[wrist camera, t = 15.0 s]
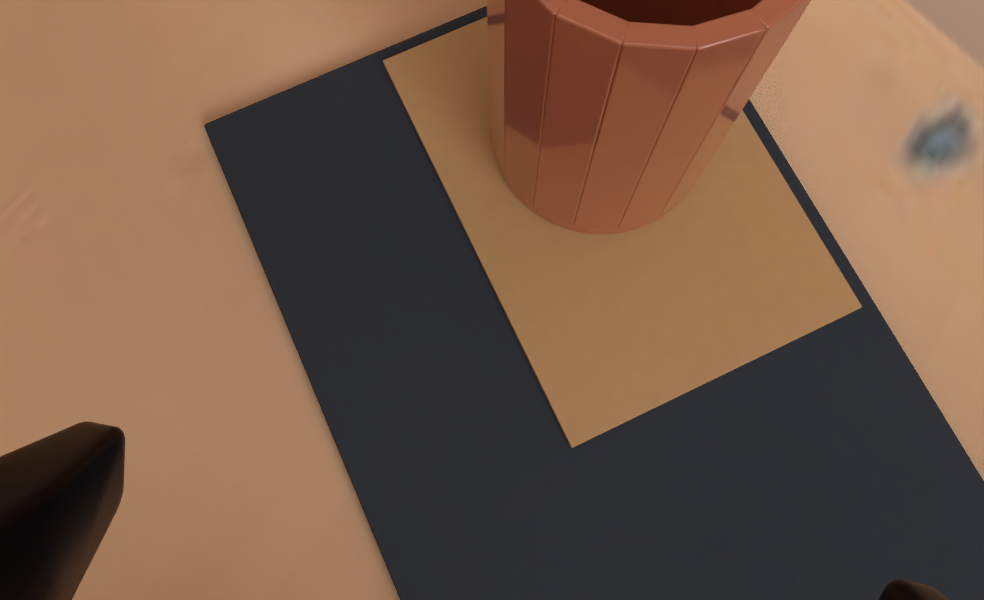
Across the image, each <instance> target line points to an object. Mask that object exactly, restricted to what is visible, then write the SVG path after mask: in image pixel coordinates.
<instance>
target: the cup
mask: <svg viewBox="0 0 984 600" xmlns="http://www.w3.org/2000/svg"><path fill="white" fill-rule="evenodd" d="M810 1H811V0H487V26H488V62H489V97H490V133H491V140H492V143H493V150H494V154H495V158H496V162H497V165H498V167H499V169H500V172H501V174H502V176H503V178H504V180H505V181H506V183H507V185H508V186H509V188H510V189H511V190H512V192H513V193H514V194H515V195H516V197H517V198H518V199H519V200H520V201H521V202H522V203H523V204H524V205H525V206H526V207H527V208H529V209H530V210H531V211H533V212H534V213H535V214H537V215H538V216H540V217H542V218H543V219H545V220H547V221H549V222H550V223H553V224H555V225H558V226H560V227H563V228H565V229H569V230H573V231H576V232H582V233H589V234H614V233H622V232H627V231H631V230H635V229H638V228H640V227H643V226H646V225H648V224H650V223H652V222H654V221H656V220H658V219H659V218H661V217H663V216H664V215H665V214H667V213H668V212H669V211H671V210H672V209H673V208H674V207H675V206H676V205H677V204H678V203H679V202H680V201H681V200H682V199H683V198H684V197H685V195H686V194H687V193H688V192H689V191H691V189H692V188H693V187H694V185H695V184H696V182H697V181H698V179H699V177H700V176H701V174H702V173H703V171H704V169H705V168H706V166H707V165H708V163H709V162H710V160H711V158H712V157H713V155H714V154H715V152H716V150H717V149H718V147H719V146H720V144H721V142H722V141H723V139H724V138H725V136H726V135H727V133H728V131H729V130H730V128H731V127H732V125H733V123H734V122H735V120H736V119H737V117H738V116H739V114H740V112H741V111H742V109H743V108H744V106H745V104H746V103H747V101H748V100H749V98H750V97H751V95H752V93H753V92H754V90H755V89H756V87H757V85H758V84H759V82H760V81H761V79H762V78H763V76H764V74H765V73H766V71H767V70H768V68H769V66H770V65H771V63H772V62H773V60H774V58H775V57H776V55H777V54H778V52H779V51H780V49H781V47H782V46H783V44H784V43H785V41H786V39H787V38H788V36H789V35H790V33H791V32H792V30H793V28H794V27H795V25H796V24H797V22H798V20H799V19H800V17H801V16H802V14H803V13H804V11H805V9H806V8H807V6H808V5H809V3H810Z"/></svg>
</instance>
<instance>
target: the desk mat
mask: <svg viewBox="0 0 984 600" xmlns="http://www.w3.org/2000/svg"><path fill="white" fill-rule="evenodd" d="M204 126H205V129H206V131H207V134H208V136H209V139H210V141H211V143H212V146H213V148H214V151H215V153H216V155H217V158H218V160H219V163H220V165H221V167H222V170H223V172H224V175H225V177H226V180H227V182H228V184H229V187H230V189H231V192H232V194H233V196H234V199H235V201H236V204H237V206H238V209H239V211H240V213H241V216H242V218H243V221H244V223H245V225H246V228H247V230H248V233H249V235H250V237H251V240H252V242H253V245H254V247H255V250H256V252H257V254H258V257H259V259H260V262H261V264H262V266H263V269H264V271H265V274H266V276H267V279H268V281H269V283H270V286H271V288H272V291H273V293H274V295H275V298H276V300H277V303H278V305H279V307H280V310H281V312H282V315H283V317H284V320H285V322H286V324H287V327H288V329H289V332H290V334H291V336H292V339H293V341H294V344H295V346H296V349H297V351H298V353H299V356H300V358H301V361H302V363H303V365H304V368H305V370H306V373H307V375H308V377H309V380H310V382H311V385H312V387H313V390H314V392H315V394H316V397H317V399H318V402H319V404H320V406H321V409H322V411H323V414H324V416H325V419H326V421H327V423H328V426H329V428H330V431H331V433H332V435H333V438H334V440H335V443H336V445H337V447H338V450H339V452H340V455H341V457H342V460H343V462H344V464H345V467H346V469H347V472H348V474H349V476H350V479H351V481H352V484H353V486H354V489H355V491H356V493H357V496H358V498H359V501H360V503H361V505H362V508H363V510H364V513H365V515H366V518H367V520H368V522H369V525H370V527H371V530H372V532H373V534H374V537H375V539H376V542H377V544H378V546H379V549H380V551H381V554H382V556H383V559H384V561H385V563H386V566H387V568H388V571H389V573H390V575H391V578H392V580H393V583H394V585H395V588H396V590H397V592H398V595H399V597H400V600H878V599H879V597H880V596H881V594H882V592H883V590H884V589H885V587H886V586H887V584H889V583H890V582H891V581H893V580H897V579H902V580H907V581H912V582H917V583H922V584H926V585H929V586H931V587H933V588H934V589H936V590H937V591H938V592H940V593H941V594H942V595H943V596H945V597H946V598H947V599H949V600H984V481H983V479H982V478H981V476H980V474H979V473H978V471H977V470H976V468H975V466H974V465H973V463H972V461H971V460H970V458H969V457H968V455H967V453H966V452H965V450H964V448H963V447H962V445H961V443H960V442H959V440H958V439H957V437H956V435H955V434H954V432H953V430H952V429H951V427H950V426H949V424H948V422H947V421H946V419H945V417H944V416H943V414H942V413H941V411H940V409H939V408H938V406H937V404H936V403H935V401H934V400H933V398H932V396H931V395H930V393H929V391H928V390H927V388H926V386H925V385H924V383H923V382H922V380H921V378H920V377H919V375H918V373H917V372H916V370H915V369H914V367H913V365H912V364H911V362H910V360H909V359H908V357H907V356H906V354H905V352H904V351H903V349H902V347H901V346H900V344H899V342H898V341H897V339H896V338H895V336H894V334H893V333H892V331H891V329H890V328H889V326H888V325H887V323H886V321H885V320H884V318H883V316H882V315H881V313H880V312H879V310H878V308H877V307H876V305H875V303H874V302H873V300H872V299H871V297H870V295H869V294H868V292H867V290H866V289H865V287H864V285H863V284H862V282H861V281H860V279H859V277H858V276H857V274H856V272H855V271H854V269H853V268H852V266H851V264H850V263H849V261H848V259H847V258H846V256H845V255H844V253H843V251H842V250H841V248H840V246H839V245H838V243H837V241H836V240H835V238H834V237H833V235H832V233H831V232H830V230H829V228H828V227H827V225H826V224H825V222H824V220H823V219H822V217H821V215H820V214H819V212H818V211H817V209H816V207H815V206H814V204H813V202H812V201H811V199H810V198H809V196H808V194H807V193H806V191H805V189H804V188H803V186H802V184H801V183H800V181H799V180H798V178H797V176H796V175H795V173H794V171H793V170H792V168H791V167H790V165H789V163H788V162H787V160H786V158H785V157H784V155H783V154H782V152H781V150H780V149H779V147H778V145H777V144H776V142H775V140H774V139H773V137H772V136H771V134H770V132H769V131H768V129H767V127H766V126H765V124H764V123H763V121H762V119H761V118H760V116H759V114H758V113H757V111H756V110H755V108H754V106H753V105H752V103H751V101H750V100H748V101H747V103H746V104H745V106H744V108H743V109H742V111H741V112H740V114H739V116H738V117H737V119H736V120H735V122H734V123H733V125H732V127H731V128H730V130H729V131H728V133H727V135H726V136H725V138H724V139H723V141H722V142H721V144H720V146H719V147H718V149H717V150H716V152H715V154H714V155H713V157H712V158H711V160H710V162H709V163H708V165H707V166H706V168H705V169H704V171H703V173H702V174H701V176H700V177H699V179H698V181H697V182H696V184H695V185H694V187H693V188H692V189H691V191H689V192H688V193H687V194H686V195H685V197H684V198H683V199H682V200H681V201H680V202H679V203H678V204H677V205H676V206H675V207H674V208H673V209H672V210H671V211H669V212H668V213H667V214H665V215H664V216H663V217H661V218H659V219H658V220H656V221H654V222H652V223H650V224H648V225H646V226H643V227H640V228H638V229H635V230H631V231H627V232H622V233H614V234H589V233H582V232H576V231H573V230H569V229H565V228H563V227H560V226H558V225H555V224H553V223H550V222H549V221H547V220H545V219H543V218H542V217H540V216H538V215H537V214H535V213H534V212H533V211H531V210H530V209H529V208H527V207H526V206H525V205H524V204H523V203H522V202H521V201H520V200H519V199H518V198H517V197H516V195H515V194H514V193H513V192H512V190H511V189H510V188H509V186H508V185H507V183H506V181H505V180H504V178H503V176H502V174H501V172H500V169H499V167H498V165H497V162H496V158H495V154H494V150H493V143H492V140H491V133H490V97H489V62H488V26H487V6H486V7H483V8H481V9H479V10H476V11H474V12H471V13H469V14H467V15H464V16H462V17H459V18H457V19H455V20H452V21H450V22H448V23H445V24H443V25H440V26H438V27H436V28H433V29H431V30H428V31H426V32H424V33H421V34H419V35H417V36H414V37H412V38H409V39H407V40H405V41H402V42H400V43H398V44H395V45H393V46H390V47H388V48H386V49H383V50H381V51H378V52H376V53H374V54H371V55H369V56H367V57H364V58H362V59H359V60H357V61H355V62H352V63H350V64H347V65H345V66H343V67H340V68H338V69H336V70H333V71H331V72H328V73H326V74H324V75H321V76H319V77H316V78H314V79H312V80H309V81H307V82H305V83H302V84H300V85H297V86H295V87H293V88H290V89H288V90H285V91H283V92H281V93H278V94H276V95H274V96H271V97H269V98H266V99H264V100H262V101H259V102H257V103H254V104H252V105H250V106H247V107H245V108H243V109H240V110H238V111H235V112H233V113H231V114H228V115H226V116H223V117H221V118H219V119H216V120H214V121H212V122H209V123H207V124H205V125H204Z"/></svg>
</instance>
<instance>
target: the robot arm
mask: <svg viewBox="0 0 984 600" xmlns="http://www.w3.org/2000/svg"><path fill="white" fill-rule="evenodd" d="M124 458H125V437H124V433H123V431H122V430H121V429H120V428H118V427H114V426H109V425H104V424H99V423H94V422H82V423H78V424H76V425H74V426H71V427H69V428H66V429H64V430H62V431H59V432H57V433H55V434H52V435H50V436H48V437H45V438H43V439H41V440H38V441H36V442H34V443H31V444H29V445H27V446H24V447H22V448H20V449H17V450H15V451H13V452H10V453H8V454H6V455H3V456H1V457H0V600H72V598H73V596H74V594H75V592H76V590H77V588H78V586H79V584H80V582H81V580H82V578H83V576H84V574H85V572H86V570H87V569H88V567H89V565H90V563H91V561H92V559H93V557H94V555H95V553H96V551H97V549H98V547H99V545H100V543H101V541H102V539H103V537H104V535H105V533H106V531H107V529H108V527H109V525H110V523H111V521H112V519H113V517H114V515H115V513H116V511H117V509H118V507H119V504H120V501H121V498H122V494H123V487H124ZM878 600H949V599H947V598H946V597H945V596H943V595H942V594H941V593H940V592H938V591H937V590H936V589H934V588H933V587H931V586H929V585H926V584H922V583H917V582H912V581H907V580H902V579H897V580H893V581H891V582H890V583H889V584H887V586H886V587H885V589H884V590H883V592H882V594H881V596H880V597H879V599H878Z"/></svg>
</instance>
